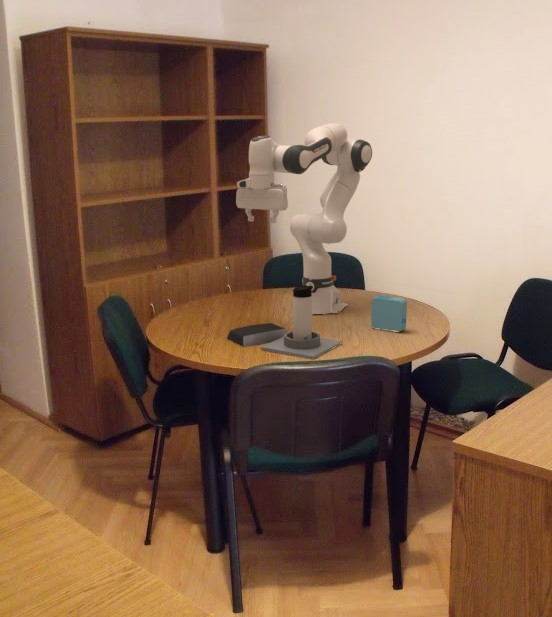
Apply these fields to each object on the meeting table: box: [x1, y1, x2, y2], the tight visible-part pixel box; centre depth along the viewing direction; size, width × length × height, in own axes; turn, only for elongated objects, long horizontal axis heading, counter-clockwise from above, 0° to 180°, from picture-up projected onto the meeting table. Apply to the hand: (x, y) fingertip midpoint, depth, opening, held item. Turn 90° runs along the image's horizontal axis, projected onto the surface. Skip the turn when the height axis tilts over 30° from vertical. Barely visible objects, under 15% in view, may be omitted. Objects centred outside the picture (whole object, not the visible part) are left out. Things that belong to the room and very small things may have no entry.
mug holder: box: [260, 330, 343, 360], centre depth 242 cm, size 20×20×4 cm
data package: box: [370, 295, 408, 332], centre depth 262 cm, size 12×4×12 cm, turn 56°
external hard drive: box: [226, 322, 289, 348], centre depth 253 cm, size 13×19×4 cm
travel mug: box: [292, 285, 313, 340], centre depth 240 cm, size 6×7×20 cm
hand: (262, 222), depth 258 cm, fingers open, 8 cm apart
